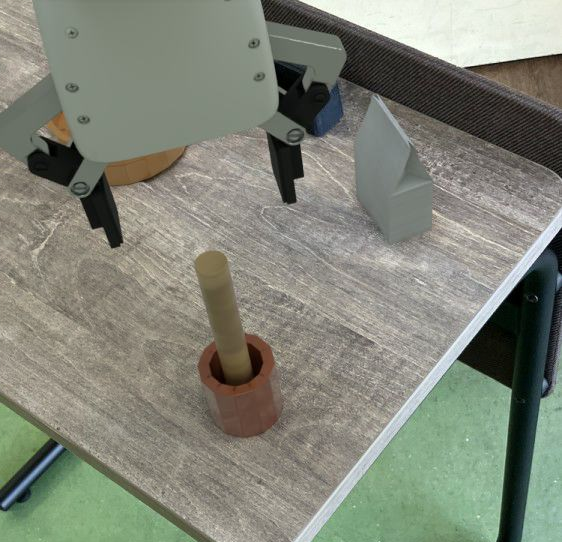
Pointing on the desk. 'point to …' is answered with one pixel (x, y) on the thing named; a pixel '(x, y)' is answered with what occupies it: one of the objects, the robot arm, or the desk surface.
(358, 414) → the desk surface
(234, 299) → the stick
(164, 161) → the bowl
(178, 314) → the desk surface
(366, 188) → the grey pointed block
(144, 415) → the desk surface
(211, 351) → the holder
